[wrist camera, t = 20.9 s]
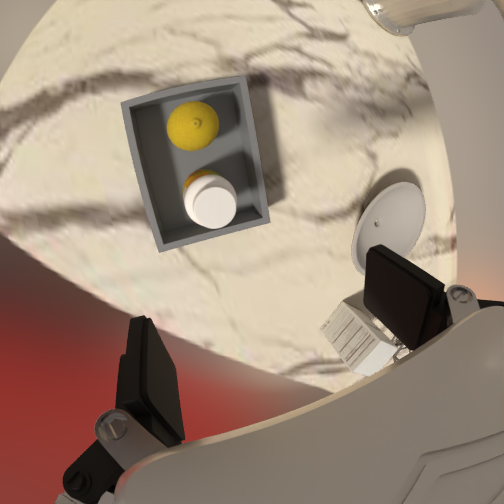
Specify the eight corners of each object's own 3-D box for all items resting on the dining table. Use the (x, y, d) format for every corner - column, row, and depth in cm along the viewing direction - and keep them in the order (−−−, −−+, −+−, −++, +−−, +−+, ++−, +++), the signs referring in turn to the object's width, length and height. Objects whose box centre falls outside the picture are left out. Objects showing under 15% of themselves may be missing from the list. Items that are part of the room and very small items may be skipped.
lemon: (170, 104, 28) (170, 93, 21) (215, 108, 29) (229, 98, 22) (165, 149, 30) (162, 150, 23) (210, 151, 31) (221, 154, 24)
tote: (128, 107, 27) (120, 102, 23) (235, 83, 29) (245, 75, 25) (160, 237, 35) (159, 252, 30) (258, 211, 37) (270, 222, 33)
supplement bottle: (225, 168, 33) (245, 178, 24) (224, 209, 35) (243, 234, 26) (182, 168, 31) (185, 179, 23) (182, 211, 33) (186, 237, 25)
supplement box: (362, 310, 52) (400, 348, 40) (339, 338, 53) (372, 379, 42) (342, 298, 48) (382, 339, 37) (317, 329, 50) (351, 374, 39)
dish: (356, 280, 48) (372, 293, 43) (318, 227, 41) (335, 239, 36) (415, 216, 46) (433, 224, 42) (388, 157, 39) (409, 161, 35)
